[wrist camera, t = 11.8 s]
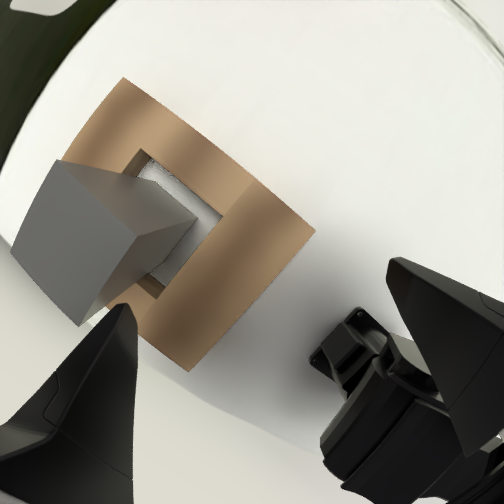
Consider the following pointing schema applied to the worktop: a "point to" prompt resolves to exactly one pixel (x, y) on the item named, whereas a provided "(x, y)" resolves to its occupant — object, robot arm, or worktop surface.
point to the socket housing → (217, 241)
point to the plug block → (96, 235)
